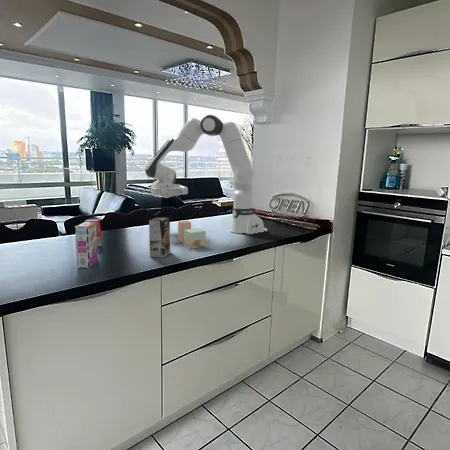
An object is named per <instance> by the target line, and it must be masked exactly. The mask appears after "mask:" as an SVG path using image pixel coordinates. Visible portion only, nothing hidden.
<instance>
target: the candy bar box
mask: <svg viewBox="0 0 450 450" xmlns="http://www.w3.org/2000/svg"><path fill="white" fill-rule="evenodd" d="M74 234H75V253H76V268H77V269H91V268H92V266H93V265H95V264H96V262H98V261H99V259H98V258H99V256H98V247H97V233H96V222H85V221H84V222H81V223H80V224H77V225H75V226H74Z"/></svg>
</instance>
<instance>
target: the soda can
mask: <svg viewBox="0 0 450 450" xmlns="http://www.w3.org/2000/svg"><path fill="white" fill-rule="evenodd" d="M84 222H96V233H97V248H100V247H101V246H102V244H103V242H102V229H101V228H102V225H101V221H100V219H99V218H88V219H85V221H84ZM99 246H100V247H99Z"/></svg>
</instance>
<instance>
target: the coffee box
mask: <svg viewBox="0 0 450 450" xmlns="http://www.w3.org/2000/svg"><path fill="white" fill-rule="evenodd" d="M148 227H149V228H148V229H149V230H148V232H149V233H148V235H149V236H148V237H149V238H148V239H149V257H150V258H151V257H152V258H160V259H162V258H165V257H166V256H168V255H169V254H170V253H171V219H170V217H155V218H152V219H149V220H148Z"/></svg>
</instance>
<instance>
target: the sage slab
mask: <svg viewBox="0 0 450 450" xmlns="http://www.w3.org/2000/svg"><path fill="white" fill-rule="evenodd" d="M206 237H207V233H206V230H204V229H201V228H199V227H197V228H191V229H187V230H184V238H185V239H187V240H189V241H195V240H204V239H206Z"/></svg>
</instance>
